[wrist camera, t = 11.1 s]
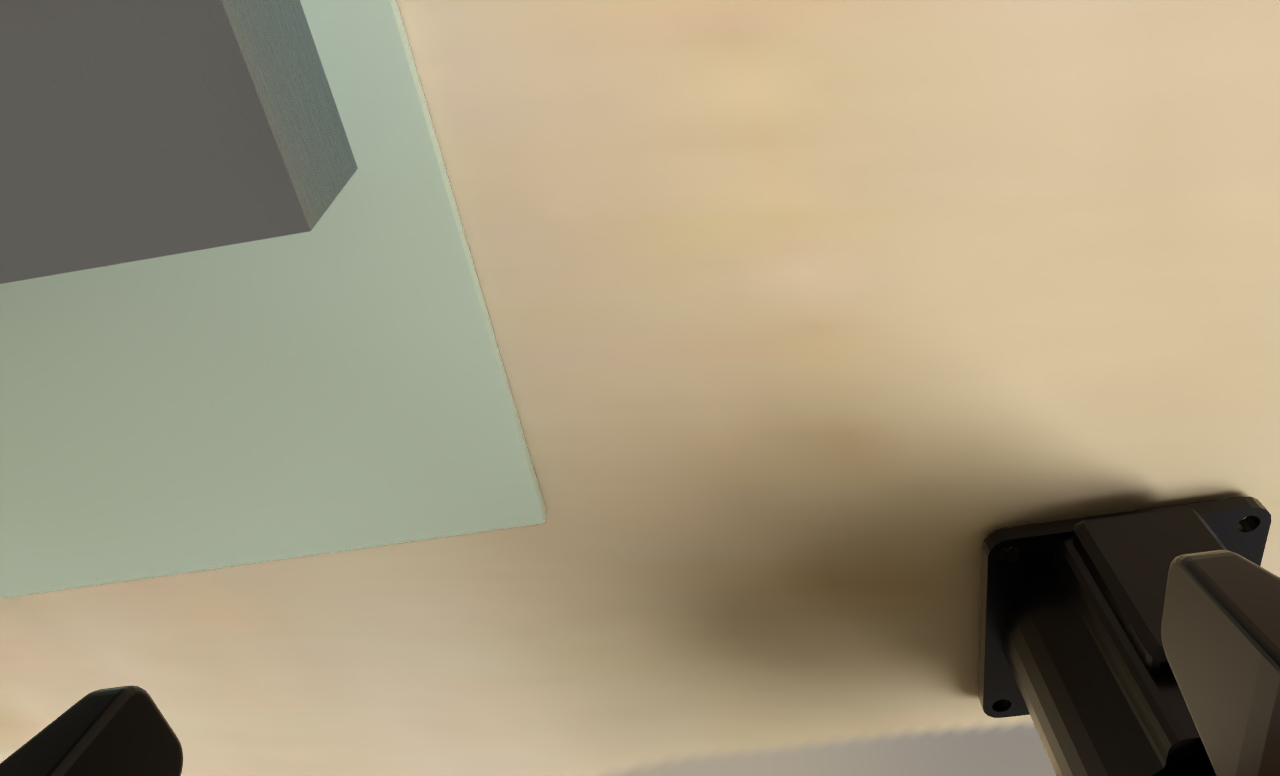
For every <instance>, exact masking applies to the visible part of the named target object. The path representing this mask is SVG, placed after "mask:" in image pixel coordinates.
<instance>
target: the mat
mask: <svg viewBox="0 0 1280 776" xmlns="http://www.w3.org/2000/svg"><path fill="white" fill-rule="evenodd" d="M300 2H301V5H302V8H303V11H304V14H305V16H306V19H307V22H308V25H309V28H310V31H311V34H312V37H313V40H314V43H315V45H316V48H317V51H318V54H319V57H320V60H321V63H322V66H323V69H324V71H325V74H326V77H327V80H328V83H329V86H330V89H331V92H332V95H333V98H334V100H335V103H336V106H337V109H338V112H339V115H340V118H341V121H342V124H343V127H344V129H345V132H346V135H347V138H348V141H349V144H350V147H351V150H352V153H353V156H354V158H355V161H356V164H357V167H358V169H357V170H356V172H355V173H354V174H353V176H352V177H351V178H350V180H349V181H348V182H347V184H346V185H345V186H344V188H343V189H342V190H341V192H340V193H339V194H338V196H337V197H336V198H335V200H334V201H333V202H332V204H331V205H330V206H329V208H328V209H327V210H326V212H325V213H324V214H323V216H322V217H321V218H320V220H319V221H318V222H317V224H316V225H315V226H314V228H313V229H312V230H311V231H309V232H303V233H298V234H292V235H286V236H280V237H274V238H268V239H262V240H256V241H251V242H245V243H239V244H233V245H227V246H221V247H215V248H209V249H203V250H198V251H192V252H186V253H180V254H174V255H168V256H162V257H156V258H151V259H145V260H139V261H133V262H127V263H121V264H115V265H109V266H103V267H98V268H92V269H86V270H80V271H74V272H68V273H62V274H56V275H51V276H45V277H39V278H33V279H27V280H21V281H15V282H9V283H3V284H0V599H1V598H8V597H15V596H22V595H29V594H37V593H44V592H51V591H58V590H66V589H73V588H80V587H87V586H95V585H102V584H109V583H116V582H123V581H131V580H138V579H145V578H152V577H160V576H167V575H174V574H181V573H189V572H196V571H203V570H210V569H217V568H225V567H232V566H239V565H246V564H254V563H261V562H268V561H275V560H283V559H290V558H297V557H304V556H311V555H319V554H326V553H333V552H340V551H348V550H355V549H362V548H369V547H377V546H384V545H391V544H398V543H405V542H413V541H420V540H427V539H434V538H442V537H449V536H456V535H463V534H471V533H478V532H485V531H492V530H499V529H507V528H514V527H521V526H528V525H536V524H543V523H545V520H546V509H545V506H544V502H543V499H542V495H541V492H540V489H539V485H538V482H537V478H536V475H535V472H534V468H533V465H532V461H531V458H530V455H529V451H528V448H527V444H526V441H525V438H524V434H523V431H522V427H521V424H520V421H519V417H518V414H517V410H516V407H515V403H514V400H513V397H512V393H511V390H510V386H509V383H508V380H507V376H506V373H505V369H504V366H503V363H502V359H501V356H500V352H499V349H498V346H497V342H496V339H495V335H494V332H493V329H492V325H491V322H490V318H489V315H488V311H487V308H486V305H485V301H484V298H483V294H482V291H481V288H480V284H479V281H478V277H477V274H476V271H475V267H474V264H473V260H472V257H471V254H470V250H469V247H468V243H467V240H466V237H465V233H464V230H463V226H462V223H461V219H460V216H459V213H458V209H457V206H456V202H455V199H454V196H453V192H452V189H451V185H450V182H449V179H448V175H447V172H446V168H445V165H444V162H443V158H442V155H441V151H440V148H439V145H438V141H437V138H436V134H435V131H434V127H433V124H432V121H431V117H430V114H429V110H428V107H427V104H426V100H425V97H424V93H423V90H422V87H421V83H420V80H419V76H418V73H417V70H416V66H415V63H414V59H413V56H412V52H411V49H410V46H409V42H408V39H407V35H406V32H405V29H404V25H403V22H402V18H401V15H400V12H399V8H398V5H397V1H396V0H300Z"/></svg>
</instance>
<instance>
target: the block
mask: <svg viewBox="0 0 1280 776" xmlns="http://www.w3.org/2000/svg"><path fill="white" fill-rule="evenodd" d="M357 169H358V167H357V164H356V161H355V158H354V156H353V153H352V150H351V147H350V144H349V141H348V138H347V135H346V132H345V129H344V127H343V124H342V121H341V118H340V115H339V112H338V109H337V106H336V103H335V100H334V98H333V95H332V92H331V89H330V86H329V83H328V80H327V77H326V74H325V71H324V69H323V66H322V63H321V60H320V57H319V54H318V51H317V48H316V45H315V43H314V40H313V37H312V34H311V31H310V28H309V25H308V22H307V19H306V16H305V14H304V11H303V8H302V5H301V2H300V0H0V284H3V283H9V282H15V281H21V280H27V279H33V278H39V277H45V276H51V275H56V274H62V273H68V272H74V271H80V270H86V269H92V268H98V267H103V266H109V265H115V264H121V263H127V262H133V261H139V260H145V259H151V258H156V257H162V256H168V255H174V254H180V253H186V252H192V251H198V250H203V249H209V248H215V247H221V246H227V245H233V244H239V243H245V242H251V241H256V240H262V239H268V238H274V237H280V236H286V235H292V234H298V233H303V232H309V231H311V230H312V229H313V228H314V226H315V225H316V224H317V222H318V221H319V220H320V218H321V217H322V216H323V214H324V213H325V212H326V210H327V209H328V208H329V206H330V205H331V204H332V202H333V201H334V200H335V198H336V197H337V196H338V194H339V193H340V192H341V190H342V189H343V188H344V186H345V185H346V184H347V182H348V181H349V180H350V178H351V177H352V176H353V174H354V173H355V172H356V170H357Z"/></svg>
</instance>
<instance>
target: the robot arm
mask: <svg viewBox="0 0 1280 776" xmlns="http://www.w3.org/2000/svg"><path fill="white" fill-rule="evenodd" d="M1245 517H1246V518H1245ZM1243 518H1245V519H1243ZM1242 519H1243V520H1242ZM1270 524H1271V515H1270V513H1269V512H1268V511H1267V510H1266V508H1265V507H1264V506H1263V505H1262V504H1261V503H1260V502H1259V501H1258V499H1255V498H1253V497H1237V498H1230V499H1222V500H1214V501H1207V502H1199V503H1192V504H1184V505H1177V506H1169V507H1161V508H1154V509H1146V510H1139V511H1131V512H1123V513H1116V514H1108V515H1101V516H1093V517H1086V518H1078V519H1070V520H1063V521H1055V522H1048V523H1040V524H1033V525H1025V526H1017V527H1010V528H1003V529H1000V530H996V531H994V532H993V533H991V534H990V535H988V537H987V538H986V539H985V540H984V543H983V550H982V585H981V620H980V655H979V690H978V696H979V700H980V703H981V705H982V708H983V710H984V712H985V713H986V714H987V715H988V716H991V717H994V718H1002V717H1011V716H1020V715H1028V714H1030V715H1031V718H1032V720H1033V722H1034V725H1035V727H1036V729H1037V732H1038V734H1039V736H1040V739H1041V741H1042V743H1043V746H1044V748H1045V750H1046V752H1047V755H1048V757H1049V759H1050V762H1051V764H1052V766H1053V769H1054V771H1055V773H1056V776H1280V577H1278V576H1276V575H1274V574H1272V573H1271V572H1269V571H1267V570H1265V569H1264V568H1262V567H1260V565H1261V561H1262V557H1263V552H1264V548H1265V544H1266V540H1267V536H1268V532H1269V528H1270ZM1008 547H1012V548H1010V549H1009V550H1007V551H1004V552H1001V551H1002V550H1003V549H1005V548H1008ZM182 766H183V753H182V747H181V744H180V741H179V739H178V738H177V736H176V735H175V733H174V732H173V730H172V729H171V727H170V726H169V724H168V723H167V721H166V719H165V718H164V716H163V715H162V713H161V712H160V710H159V709H158V707H157V706H156V704H155V703H154V701H153V700H152V698H151V697H150V695H149V694H148V693H147V692H146V691H145V690H143V689H142V688H140V687H138V686H124V687H116V688H108V689H100V690H97V691H94V692H92V693H90V694H88V695H86V696H85V697H83V698H82V699H81V700H80V701H78V702H77V703H76V704H75V705H73V706H72V707H71V708H70V709H68V710H67V711H66V712H65V713H63V714H62V715H61V716H60V717H58V718H57V719H56V720H55V721H53V722H52V723H51V724H50V725H48V726H47V727H46V728H45V729H43V730H42V731H41V732H39V733H38V734H37V735H36V736H34V737H33V738H32V739H31V740H29V741H28V742H27V743H26V744H24V745H23V746H22V747H21V748H19V749H18V750H17V751H16V752H14V753H13V754H12V755H11V756H9V757H8V758H7V759H6V760H4V761H3V762H2V763H1V764H0V776H181V772H182Z"/></svg>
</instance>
